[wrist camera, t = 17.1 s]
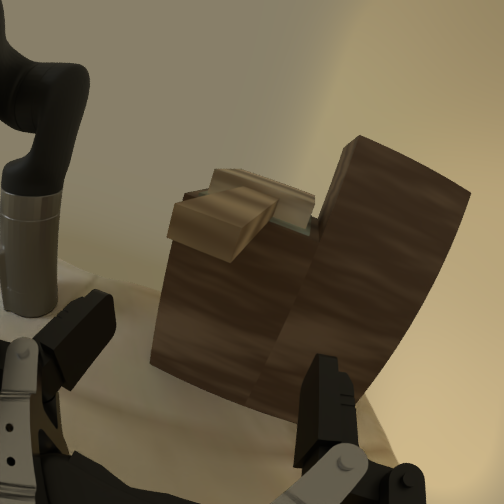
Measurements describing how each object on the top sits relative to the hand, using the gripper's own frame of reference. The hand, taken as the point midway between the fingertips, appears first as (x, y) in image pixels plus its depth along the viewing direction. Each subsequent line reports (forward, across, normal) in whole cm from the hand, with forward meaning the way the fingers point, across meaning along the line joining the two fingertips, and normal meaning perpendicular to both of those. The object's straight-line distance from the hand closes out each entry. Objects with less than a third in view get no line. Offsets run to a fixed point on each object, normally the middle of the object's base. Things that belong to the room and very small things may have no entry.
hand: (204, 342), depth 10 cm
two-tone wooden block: (+20, -3, +24) cm, 31 cm away
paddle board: (+16, +1, 0) cm, 16 cm away
